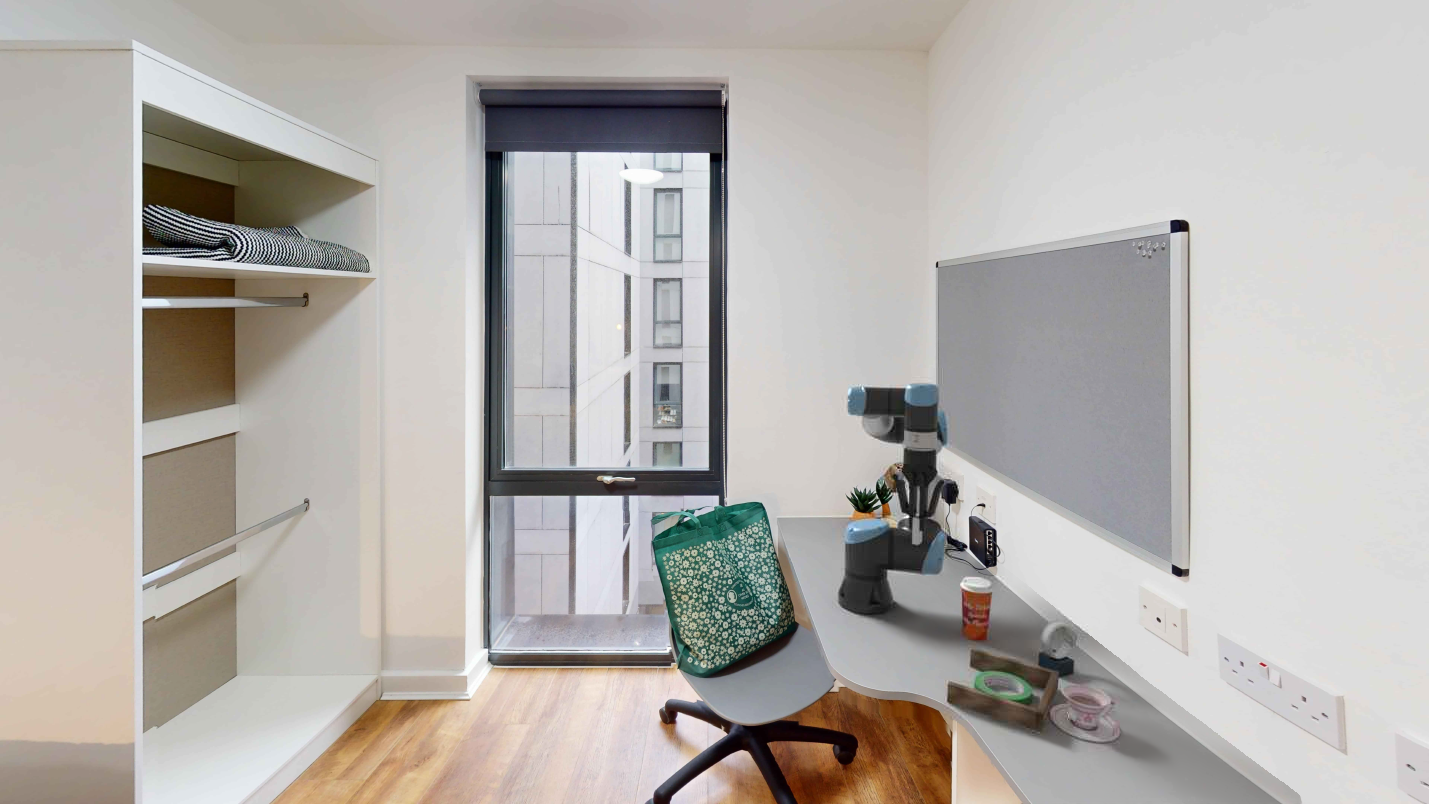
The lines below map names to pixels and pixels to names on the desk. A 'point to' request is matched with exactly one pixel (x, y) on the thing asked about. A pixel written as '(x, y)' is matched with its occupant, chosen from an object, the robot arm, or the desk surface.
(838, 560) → the desk surface
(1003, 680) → the tape roll
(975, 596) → the paper cup
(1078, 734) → the teacup
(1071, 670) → the watch
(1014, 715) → the u-shaped wooden frame
